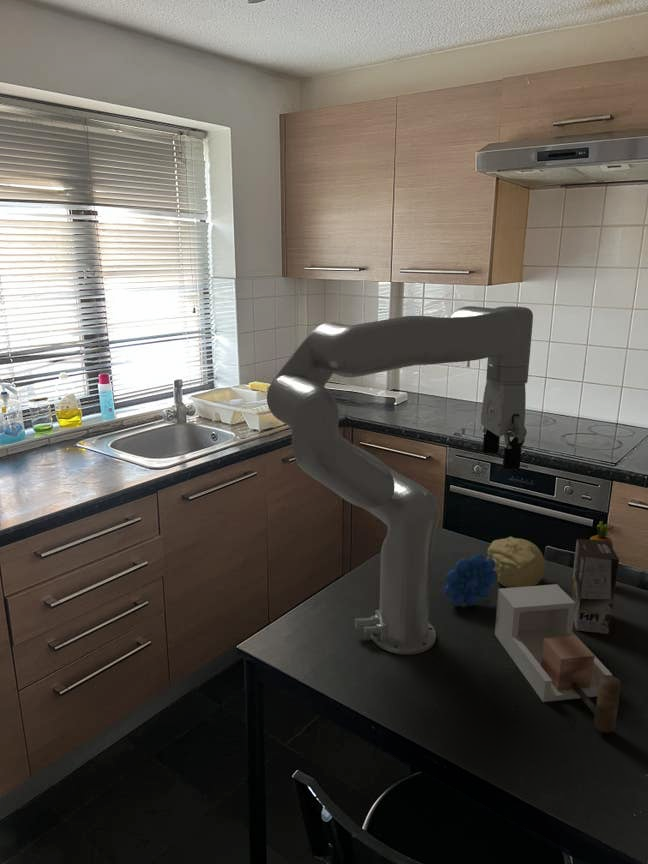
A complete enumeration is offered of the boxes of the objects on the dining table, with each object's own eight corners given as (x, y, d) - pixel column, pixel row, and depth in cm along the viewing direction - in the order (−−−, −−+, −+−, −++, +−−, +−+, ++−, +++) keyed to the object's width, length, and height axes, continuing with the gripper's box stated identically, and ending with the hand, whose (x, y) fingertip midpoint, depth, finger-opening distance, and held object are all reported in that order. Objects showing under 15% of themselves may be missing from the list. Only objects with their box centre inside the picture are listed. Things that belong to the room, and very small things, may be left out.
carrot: (587, 576, 149) (594, 516, 145) (610, 582, 147) (618, 521, 143) (581, 584, 146) (588, 523, 142) (604, 591, 143) (612, 528, 139)
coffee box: (610, 634, 126) (620, 559, 122) (575, 631, 128) (584, 556, 123) (600, 610, 135) (609, 539, 131) (568, 607, 136) (576, 537, 132)
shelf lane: (543, 701, 107) (548, 649, 105) (494, 634, 126) (498, 588, 124) (609, 694, 109) (616, 643, 106) (551, 629, 128) (556, 584, 125)
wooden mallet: (591, 734, 98) (597, 689, 96) (540, 668, 114) (544, 628, 112) (627, 730, 99) (634, 685, 97) (572, 665, 115) (577, 625, 113)
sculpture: (478, 580, 147) (481, 537, 144) (511, 566, 154) (515, 524, 151) (519, 601, 138) (523, 555, 136) (552, 585, 145) (557, 541, 142)
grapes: (487, 593, 142) (491, 543, 138) (499, 609, 135) (504, 557, 132) (436, 597, 140) (439, 546, 137) (446, 613, 134) (449, 561, 130)
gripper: (471, 366, 128) (466, 448, 133) (507, 382, 112) (500, 475, 117) (506, 365, 130) (500, 446, 134) (548, 381, 113) (539, 473, 118)
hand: (500, 460), depth 125 cm, fingers open, 9 cm apart
